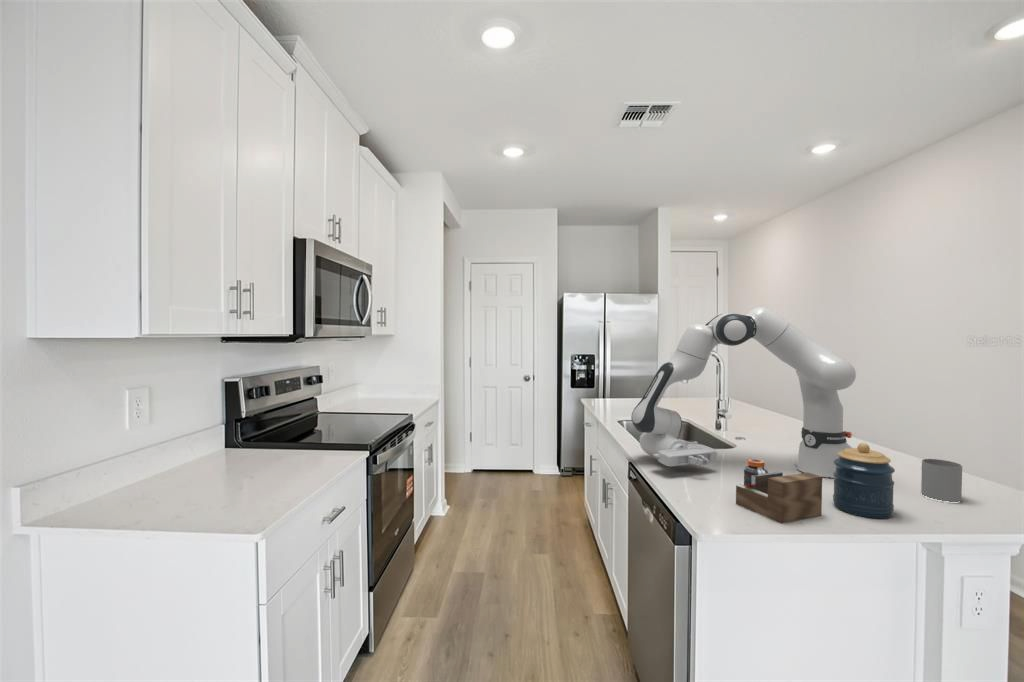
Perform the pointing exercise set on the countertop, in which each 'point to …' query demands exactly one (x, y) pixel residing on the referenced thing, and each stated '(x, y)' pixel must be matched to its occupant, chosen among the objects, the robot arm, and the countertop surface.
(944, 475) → the cup
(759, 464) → the pill bottle
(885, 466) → the canister
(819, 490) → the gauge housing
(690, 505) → the countertop surface
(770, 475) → the brushed metal plate
